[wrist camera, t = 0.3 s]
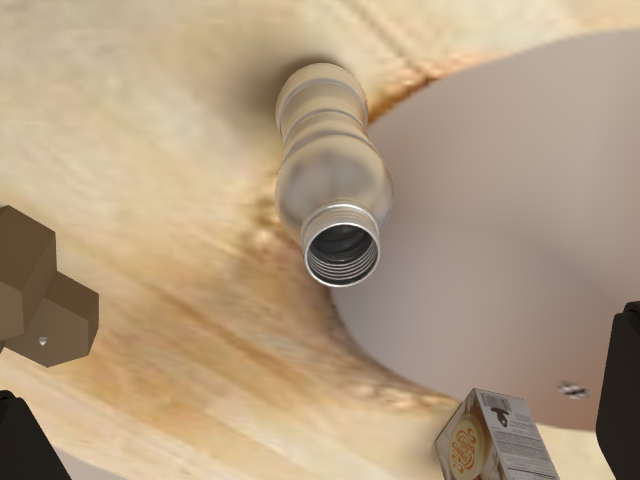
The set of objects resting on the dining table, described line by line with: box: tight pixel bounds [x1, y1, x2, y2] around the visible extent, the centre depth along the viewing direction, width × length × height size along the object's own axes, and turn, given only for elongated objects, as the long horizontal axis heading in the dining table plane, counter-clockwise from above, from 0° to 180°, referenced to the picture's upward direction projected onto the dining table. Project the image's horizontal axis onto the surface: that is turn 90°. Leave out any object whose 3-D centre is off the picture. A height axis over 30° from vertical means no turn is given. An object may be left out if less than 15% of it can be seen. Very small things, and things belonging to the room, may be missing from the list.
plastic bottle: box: [275, 63, 394, 288], centre depth 36 cm, size 6×7×20 cm
